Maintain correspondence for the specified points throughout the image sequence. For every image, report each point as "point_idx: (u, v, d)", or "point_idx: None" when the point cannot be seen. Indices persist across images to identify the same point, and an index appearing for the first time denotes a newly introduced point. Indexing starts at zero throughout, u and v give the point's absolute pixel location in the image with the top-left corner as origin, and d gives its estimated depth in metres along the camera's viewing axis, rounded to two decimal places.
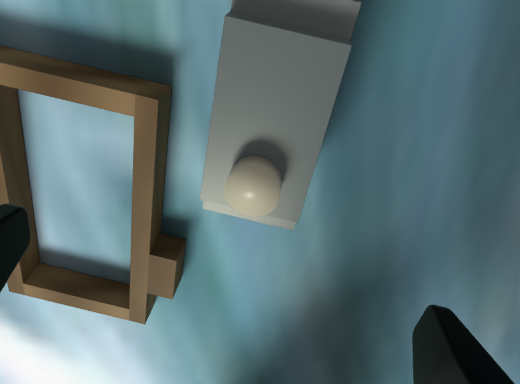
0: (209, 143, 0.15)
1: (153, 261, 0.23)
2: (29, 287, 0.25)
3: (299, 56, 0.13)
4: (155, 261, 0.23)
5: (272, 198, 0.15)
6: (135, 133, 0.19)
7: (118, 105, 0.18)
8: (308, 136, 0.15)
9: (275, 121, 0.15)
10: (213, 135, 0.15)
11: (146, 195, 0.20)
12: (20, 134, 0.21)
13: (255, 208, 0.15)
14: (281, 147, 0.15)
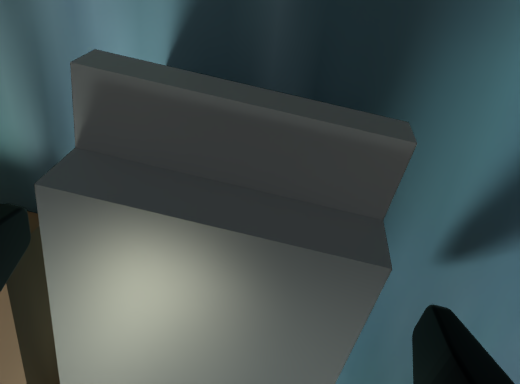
0: None
1: None
2: None
3: (248, 282, 0.05)
4: None
5: None
6: None
7: None
8: None
9: None
10: None
11: None
12: None
13: None
14: None
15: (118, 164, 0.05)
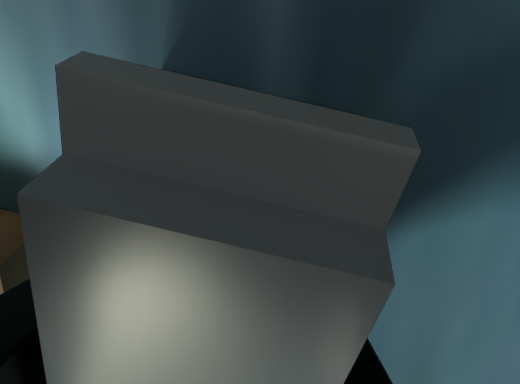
0: None
1: None
2: None
3: (243, 296, 0.05)
4: None
5: None
6: None
7: None
8: None
9: None
10: None
11: None
12: None
13: None
14: None
15: (107, 172, 0.05)
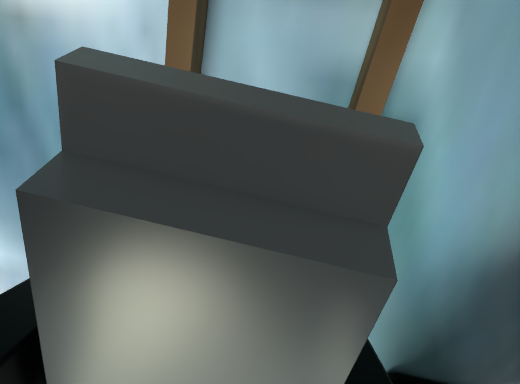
0: None
1: None
2: None
3: (244, 293, 0.05)
4: None
5: None
6: None
7: None
8: None
9: None
10: None
11: (384, 81, 0.15)
12: (205, 10, 0.16)
13: None
14: None
15: (107, 168, 0.05)
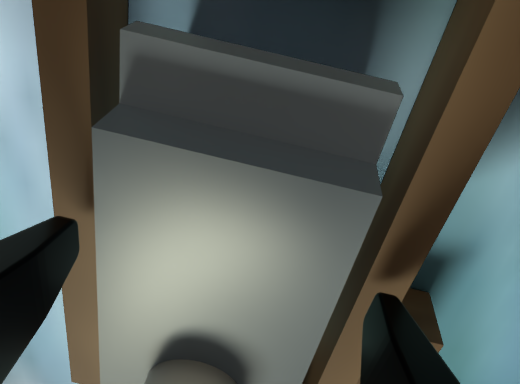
0: (102, 335, 0.08)
1: None
2: None
3: (265, 210, 0.06)
4: None
5: None
6: (470, 46, 0.07)
7: None
8: (288, 340, 0.07)
9: (223, 314, 0.07)
10: (107, 325, 0.08)
11: (435, 209, 0.09)
12: None
13: None
14: (237, 351, 0.08)
15: (156, 116, 0.06)
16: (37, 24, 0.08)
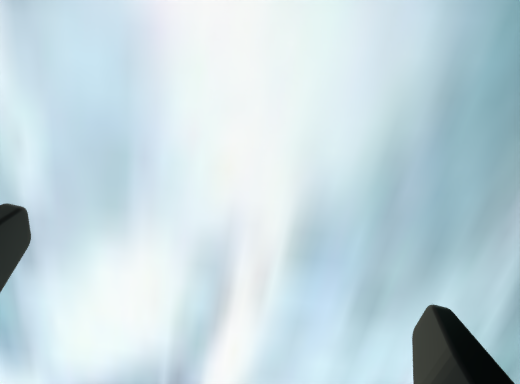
0: None
1: None
2: None
3: None
4: None
5: None
6: None
7: None
8: None
9: None
10: None
11: None
12: None
13: None
14: None
15: None
16: None
